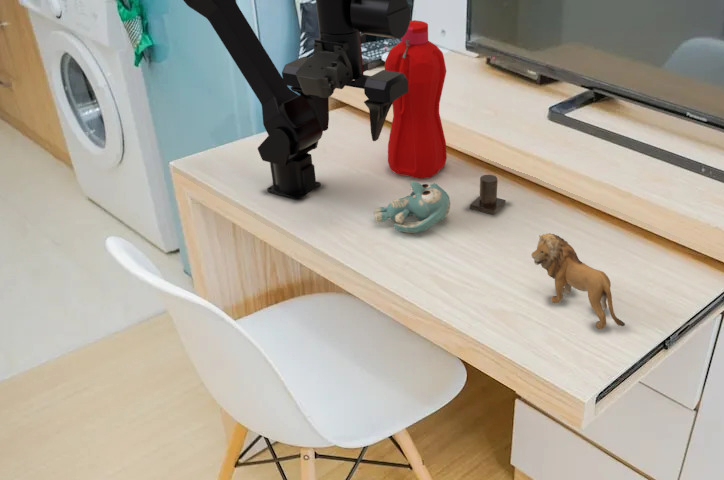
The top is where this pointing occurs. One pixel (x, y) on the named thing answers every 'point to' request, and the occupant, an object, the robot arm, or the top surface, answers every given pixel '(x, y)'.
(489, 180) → the peg
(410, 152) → the water bottle
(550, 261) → the lion figurine
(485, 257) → the top surface
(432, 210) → the stuffed animal
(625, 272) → the top surface
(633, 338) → the top surface
